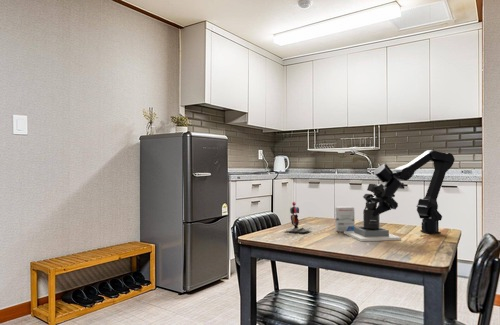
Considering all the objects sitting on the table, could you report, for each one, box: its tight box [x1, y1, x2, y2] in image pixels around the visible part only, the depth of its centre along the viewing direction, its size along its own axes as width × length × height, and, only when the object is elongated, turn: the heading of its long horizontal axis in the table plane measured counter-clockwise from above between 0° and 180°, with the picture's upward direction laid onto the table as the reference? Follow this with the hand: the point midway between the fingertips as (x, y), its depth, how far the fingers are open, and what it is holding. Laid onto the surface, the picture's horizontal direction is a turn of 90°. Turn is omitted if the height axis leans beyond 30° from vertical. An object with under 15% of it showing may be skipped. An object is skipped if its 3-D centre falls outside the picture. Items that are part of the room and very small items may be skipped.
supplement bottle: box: [362, 201, 380, 230], centre depth 159 cm, size 7×7×12 cm
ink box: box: [334, 206, 356, 233], centre depth 173 cm, size 9×5×12 cm, turn 84°
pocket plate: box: [343, 226, 402, 242], centre depth 159 cm, size 18×18×4 cm
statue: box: [283, 201, 312, 234], centre depth 172 cm, size 11×9×15 cm
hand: (368, 214), depth 158 cm, fingers closed on supplement bottle, 7 cm apart
